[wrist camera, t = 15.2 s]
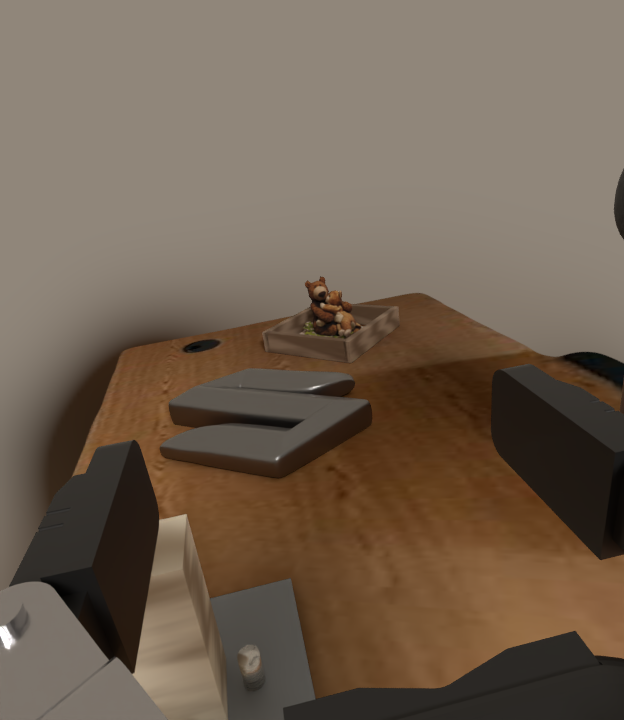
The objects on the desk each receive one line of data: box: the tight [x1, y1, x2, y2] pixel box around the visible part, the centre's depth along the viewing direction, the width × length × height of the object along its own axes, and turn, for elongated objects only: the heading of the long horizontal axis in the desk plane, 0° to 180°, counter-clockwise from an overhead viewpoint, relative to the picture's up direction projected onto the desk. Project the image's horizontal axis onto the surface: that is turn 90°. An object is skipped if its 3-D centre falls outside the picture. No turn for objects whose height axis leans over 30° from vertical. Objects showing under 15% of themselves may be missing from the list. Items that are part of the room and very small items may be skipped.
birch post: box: [132, 514, 228, 720], centre depth 30 cm, size 5×5×13 cm
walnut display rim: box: [262, 304, 399, 363], centre depth 98 cm, size 20×19×4 cm
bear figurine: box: [300, 277, 363, 339], centre depth 97 cm, size 14×15×12 cm
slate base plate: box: [210, 578, 315, 720], centre depth 33 cm, size 16×16×4 cm
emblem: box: [160, 369, 372, 478], centre depth 68 cm, size 28×5×28 cm
